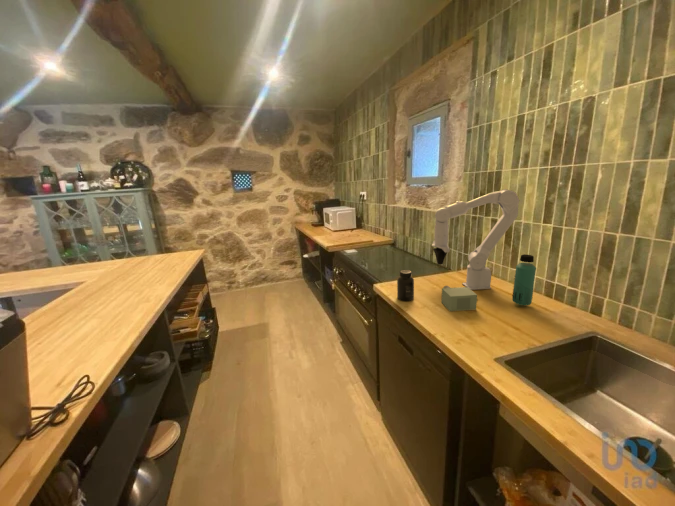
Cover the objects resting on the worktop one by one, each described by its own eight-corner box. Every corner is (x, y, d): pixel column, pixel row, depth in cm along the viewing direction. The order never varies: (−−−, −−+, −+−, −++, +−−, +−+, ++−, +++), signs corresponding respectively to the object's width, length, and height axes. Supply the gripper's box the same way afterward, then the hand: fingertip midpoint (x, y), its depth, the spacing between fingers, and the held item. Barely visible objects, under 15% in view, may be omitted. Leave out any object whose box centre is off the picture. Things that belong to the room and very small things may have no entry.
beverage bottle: (532, 304, 106) (539, 254, 101) (529, 311, 102) (536, 258, 97) (513, 300, 111) (519, 252, 106) (509, 306, 106) (515, 255, 101)
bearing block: (465, 300, 112) (466, 286, 111) (476, 309, 105) (477, 294, 103) (441, 302, 112) (442, 288, 111) (449, 311, 104) (450, 296, 103)
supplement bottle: (414, 295, 120) (415, 269, 117) (413, 302, 113) (413, 274, 110) (398, 294, 122) (398, 268, 119) (396, 300, 116) (396, 273, 113)
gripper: (426, 232, 133) (426, 259, 136) (438, 238, 119) (437, 268, 122) (441, 231, 133) (440, 259, 136) (455, 237, 119) (453, 268, 122)
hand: (439, 263), depth 129 cm, fingers closed
